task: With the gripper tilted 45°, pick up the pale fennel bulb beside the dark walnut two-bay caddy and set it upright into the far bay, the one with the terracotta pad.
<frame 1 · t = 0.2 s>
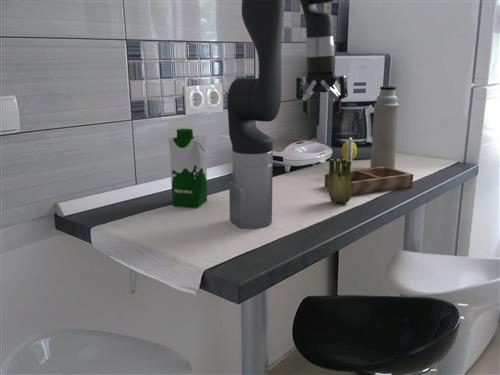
hand: (322, 113, 140), 22 cm above the table, tool pointing down, fingers open, 8 cm apart
thermos bottle: (382, 170, 170), on the table
milk carton: (190, 204, 132), on the table
lemon: (348, 162, 183), on the table
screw: (348, 178, 159), on the table
caddy: (368, 187, 148), on the table
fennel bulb: (339, 203, 133), on the table
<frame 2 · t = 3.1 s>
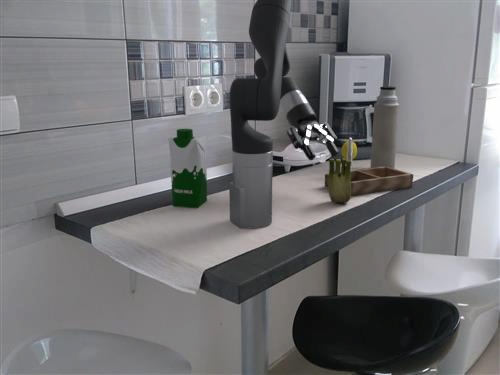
hand: (324, 156, 135), 11 cm above the table, tool tilted 45°, fingers open, 8 cm apart
nothing on the table moved.
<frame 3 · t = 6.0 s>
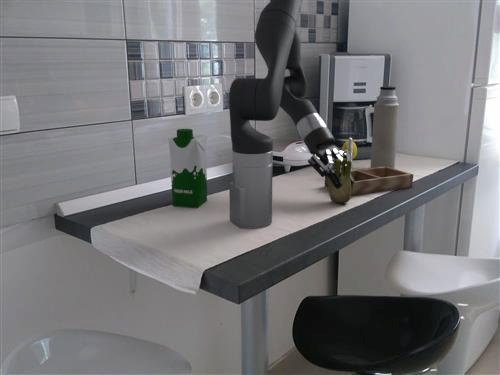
hand: (345, 185, 130), 5 cm above the table, tool tilted 45°, fingers closed on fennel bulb, 3 cm apart
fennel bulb: (339, 203, 133), on the table, touching gripper
everything else where it was.
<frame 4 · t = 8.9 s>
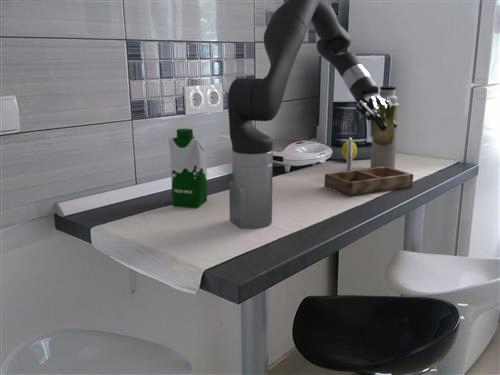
hand: (389, 128, 144), 17 cm above the table, tool tilted 45°, fingers closed on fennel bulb, 3 cm apart
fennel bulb: (382, 145, 147), point 12 cm above the table, touching gripper
everything else where it was.
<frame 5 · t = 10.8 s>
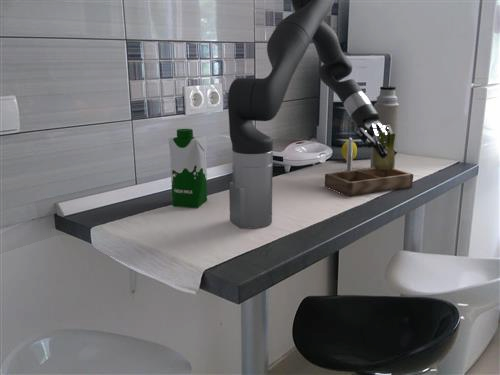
hand: (389, 155, 146), 9 cm above the table, tool tilted 45°, fingers closed on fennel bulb, 3 cm apart
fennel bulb: (382, 171, 149), point 4 cm above the table, touching gripper
everything else where it was.
when the fingers open (7 cm above the table, at t = 12.1 s): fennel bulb stays where it is, resting on caddy.
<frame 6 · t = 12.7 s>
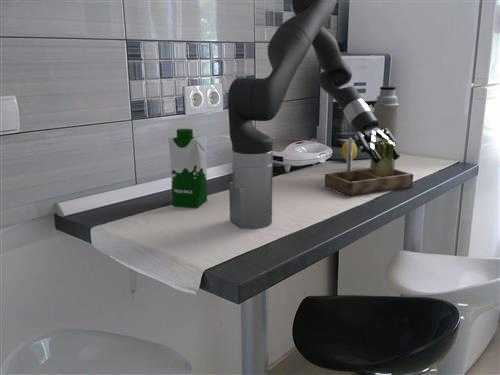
hand: (388, 160, 147), 8 cm above the table, tool tilted 45°, fingers open, 8 cm apart
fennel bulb: (382, 182, 150), point 1 cm above the table, touching caddy
everything else where it was.
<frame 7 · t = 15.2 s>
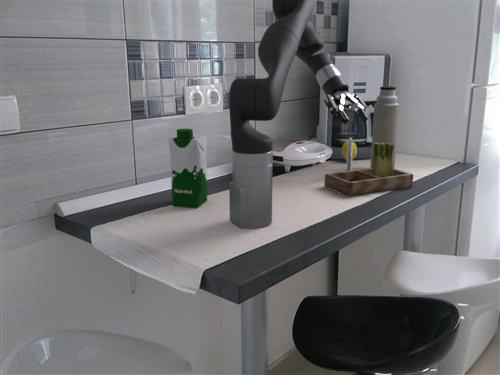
hand: (356, 121, 155), 18 cm above the table, tool tilted 45°, fingers open, 8 cm apart
nothing on the table moved.
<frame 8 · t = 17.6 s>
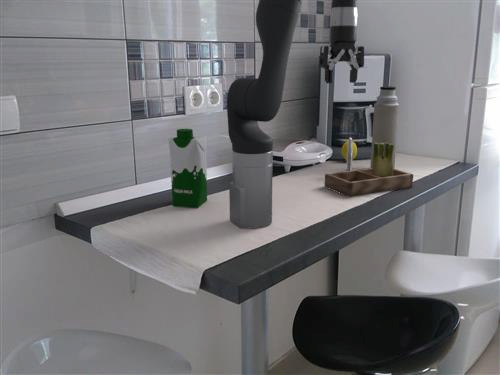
hand: (341, 82, 146), 30 cm above the table, tool pointing down, fingers open, 8 cm apart
nothing on the table moved.
at the end: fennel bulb inside the target area on the caddy (0.3 cm from its centre), point 0.8 cm above the caddy's base; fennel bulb tilted 0°; the gripper is holding nothing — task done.
